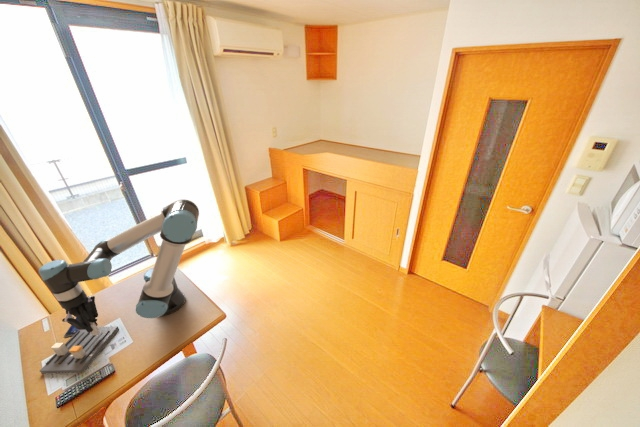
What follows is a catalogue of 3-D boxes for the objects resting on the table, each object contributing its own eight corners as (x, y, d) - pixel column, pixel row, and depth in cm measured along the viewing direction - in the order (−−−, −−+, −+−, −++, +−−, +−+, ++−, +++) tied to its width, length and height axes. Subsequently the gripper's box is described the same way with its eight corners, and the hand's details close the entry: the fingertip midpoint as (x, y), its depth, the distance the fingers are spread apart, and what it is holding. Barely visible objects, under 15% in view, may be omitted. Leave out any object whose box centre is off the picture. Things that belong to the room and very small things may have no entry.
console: (118, 329, 114) (116, 325, 113) (82, 372, 96) (79, 369, 95) (84, 329, 113) (82, 326, 112) (41, 373, 95) (38, 369, 94)
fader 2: (86, 353, 101) (81, 345, 98) (82, 358, 99) (76, 350, 96) (79, 353, 101) (73, 345, 98) (74, 358, 99) (68, 350, 96)
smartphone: (97, 308, 124) (82, 332, 111) (97, 309, 124) (83, 334, 112) (79, 312, 122) (62, 337, 109) (80, 313, 122) (63, 338, 110)
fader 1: (69, 350, 102) (63, 342, 99) (64, 355, 100) (58, 347, 98) (61, 350, 102) (55, 342, 99) (56, 355, 100) (50, 347, 97)
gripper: (75, 283, 101) (99, 321, 112) (44, 308, 90) (74, 347, 100) (93, 283, 101) (115, 321, 112) (65, 307, 90) (92, 347, 101)
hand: (96, 333), depth 106 cm, fingers closed
